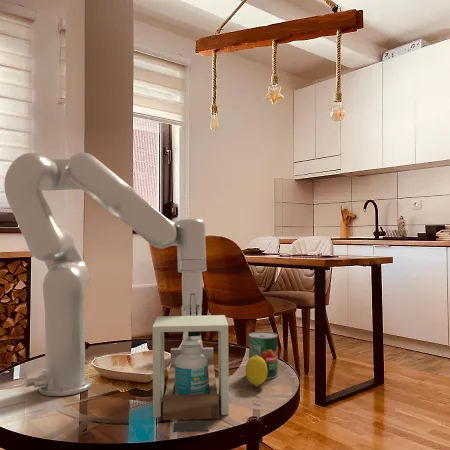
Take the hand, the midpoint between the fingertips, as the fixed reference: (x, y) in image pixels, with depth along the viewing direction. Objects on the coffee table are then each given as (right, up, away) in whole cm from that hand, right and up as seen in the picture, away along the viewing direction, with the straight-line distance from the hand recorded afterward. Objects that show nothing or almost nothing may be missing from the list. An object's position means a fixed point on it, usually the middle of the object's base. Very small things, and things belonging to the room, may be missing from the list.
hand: (194, 335), depth 123 cm
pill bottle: (0, -12, -17) cm, 21 cm away
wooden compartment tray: (0, -11, -10) cm, 15 cm away
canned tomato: (+18, -12, +5) cm, 23 cm away
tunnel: (0, -12, -17) cm, 21 cm away
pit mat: (+1, -12, -29) cm, 31 cm away
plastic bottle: (-3, -13, +27) cm, 30 cm away
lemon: (+16, -12, -4) cm, 21 cm away
